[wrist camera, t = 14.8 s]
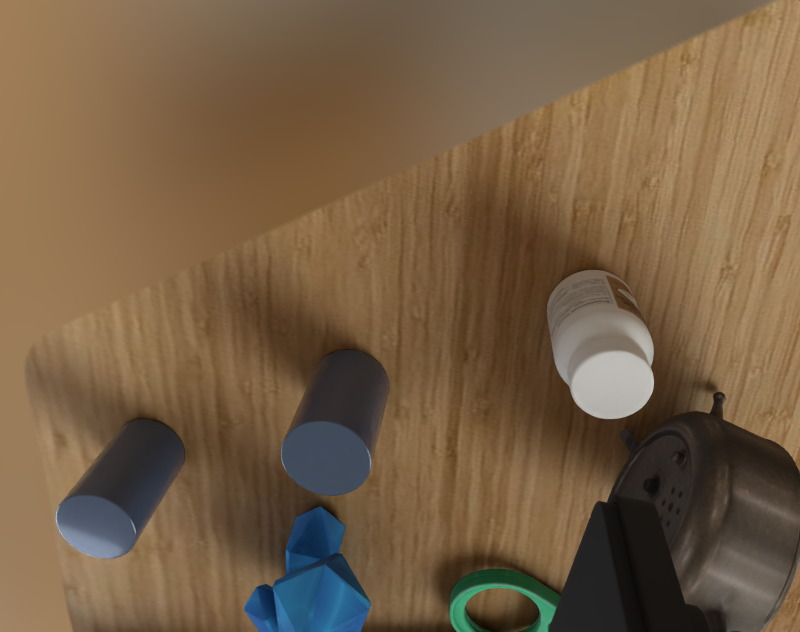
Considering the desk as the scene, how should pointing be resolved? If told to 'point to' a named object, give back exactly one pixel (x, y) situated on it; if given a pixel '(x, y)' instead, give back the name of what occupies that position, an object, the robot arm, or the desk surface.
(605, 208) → the desk surface
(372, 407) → the post mid
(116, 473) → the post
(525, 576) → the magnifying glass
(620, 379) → the pill bottle
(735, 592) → the alarm clock
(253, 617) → the crystal
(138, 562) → the desk surface
